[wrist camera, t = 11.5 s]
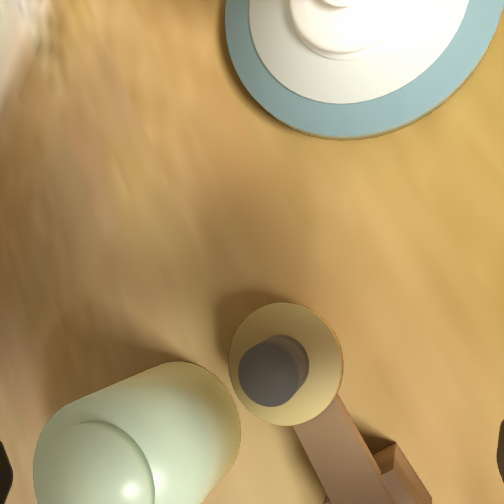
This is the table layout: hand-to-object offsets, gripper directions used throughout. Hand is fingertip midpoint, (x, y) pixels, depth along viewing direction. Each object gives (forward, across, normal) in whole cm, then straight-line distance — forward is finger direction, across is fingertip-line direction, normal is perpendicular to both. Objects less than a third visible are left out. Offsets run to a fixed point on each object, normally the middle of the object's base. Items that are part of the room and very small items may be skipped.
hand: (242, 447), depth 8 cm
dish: (+16, -4, -8) cm, 18 cm away
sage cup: (+11, +5, +9) cm, 15 cm away
